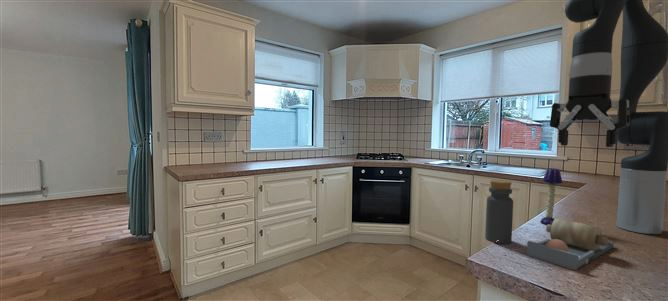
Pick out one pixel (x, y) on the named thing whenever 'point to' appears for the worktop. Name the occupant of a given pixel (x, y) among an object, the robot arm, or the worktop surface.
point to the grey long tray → (565, 254)
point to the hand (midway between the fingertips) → (585, 146)
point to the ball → (557, 244)
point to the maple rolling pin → (577, 234)
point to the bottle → (499, 213)
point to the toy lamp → (551, 192)
